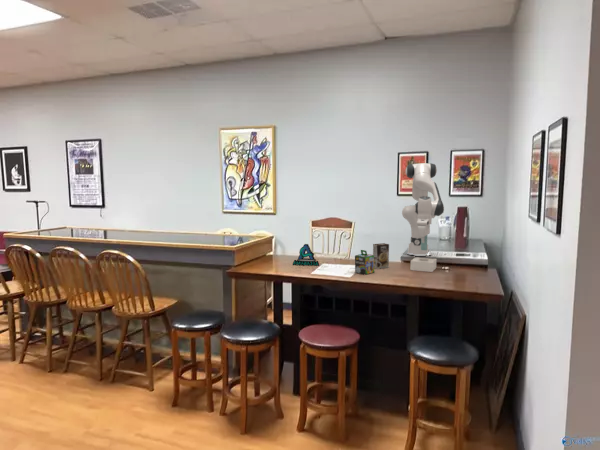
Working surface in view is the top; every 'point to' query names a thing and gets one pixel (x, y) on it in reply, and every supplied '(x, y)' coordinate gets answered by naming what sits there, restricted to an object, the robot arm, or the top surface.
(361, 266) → the chalk box
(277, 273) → the top surface
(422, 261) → the hole block
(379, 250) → the coffee box
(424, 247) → the pin
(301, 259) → the decorative sign
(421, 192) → the robot arm
